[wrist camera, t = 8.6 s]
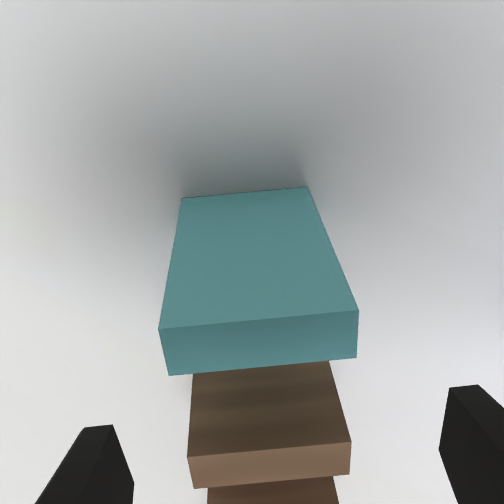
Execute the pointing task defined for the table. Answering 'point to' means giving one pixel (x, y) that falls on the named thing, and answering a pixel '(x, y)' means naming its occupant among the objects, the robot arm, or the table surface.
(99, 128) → the table surface
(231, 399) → the walnut domino
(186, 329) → the teal domino
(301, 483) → the walnut domino
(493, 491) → the robot arm
